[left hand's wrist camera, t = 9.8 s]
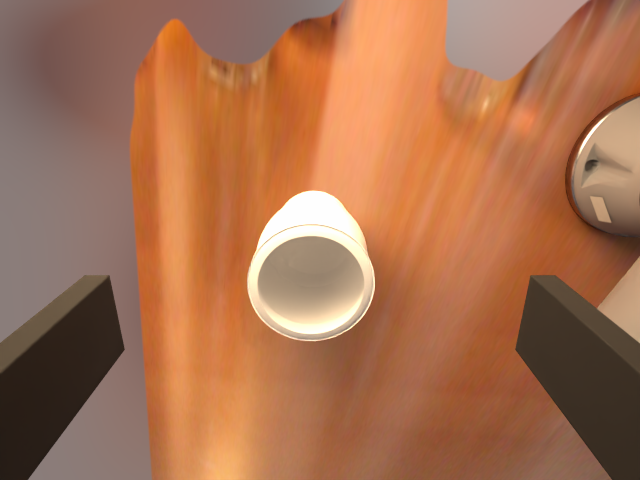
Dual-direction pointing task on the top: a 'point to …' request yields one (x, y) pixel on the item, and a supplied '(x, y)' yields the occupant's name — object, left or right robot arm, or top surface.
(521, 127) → the top surface
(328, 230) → the jar
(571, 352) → the left robot arm
